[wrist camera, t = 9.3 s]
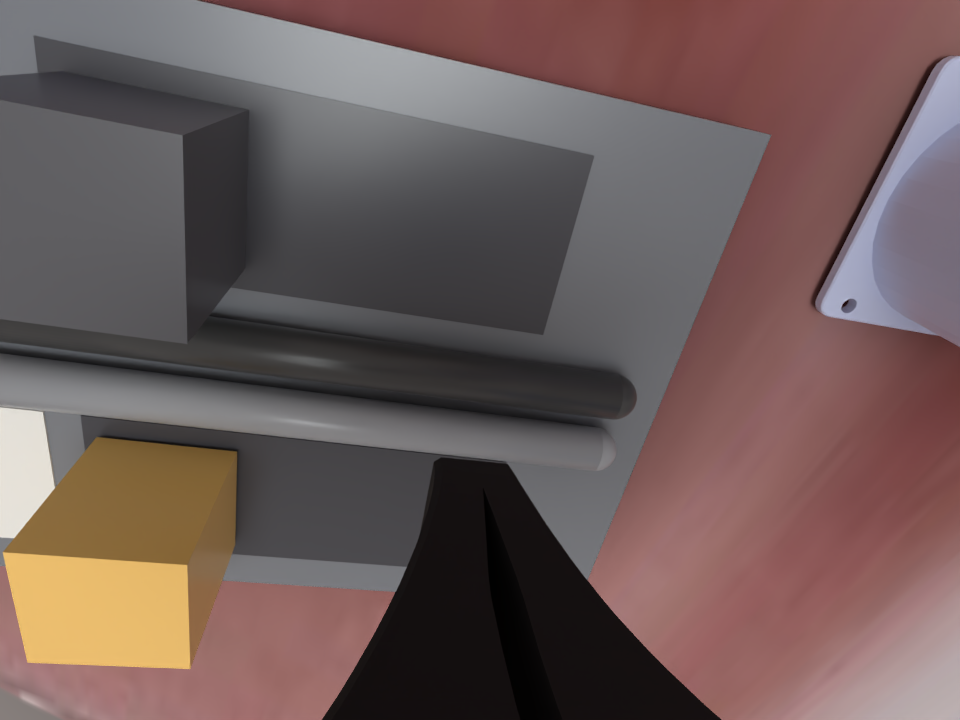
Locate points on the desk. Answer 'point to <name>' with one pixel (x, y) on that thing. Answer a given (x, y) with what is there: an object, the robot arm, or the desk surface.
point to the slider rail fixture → (338, 272)
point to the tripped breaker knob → (126, 556)
